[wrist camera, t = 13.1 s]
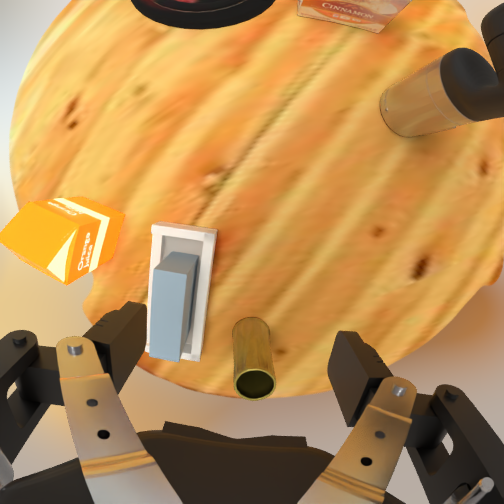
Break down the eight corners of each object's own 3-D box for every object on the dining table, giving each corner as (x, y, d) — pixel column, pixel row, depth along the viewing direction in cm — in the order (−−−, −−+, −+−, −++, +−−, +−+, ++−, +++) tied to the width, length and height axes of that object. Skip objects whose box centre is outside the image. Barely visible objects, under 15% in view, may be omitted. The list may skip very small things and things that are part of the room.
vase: (243, 310, 47) (245, 358, 33) (276, 326, 48) (289, 377, 34) (225, 339, 48) (221, 392, 34) (258, 354, 49) (263, 409, 35)
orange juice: (112, 258, 44) (42, 302, 25) (70, 239, 43) (-9, 269, 24) (126, 213, 43) (53, 232, 23) (81, 195, 42) (-1, 204, 22)
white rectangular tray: (217, 229, 44) (215, 234, 40) (202, 347, 48) (199, 361, 44) (160, 221, 43) (152, 224, 39) (152, 338, 47) (145, 351, 43)
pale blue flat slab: (198, 255, 43) (186, 274, 33) (190, 328, 45) (179, 362, 36) (170, 250, 43) (151, 268, 33) (164, 324, 45) (147, 356, 35)
